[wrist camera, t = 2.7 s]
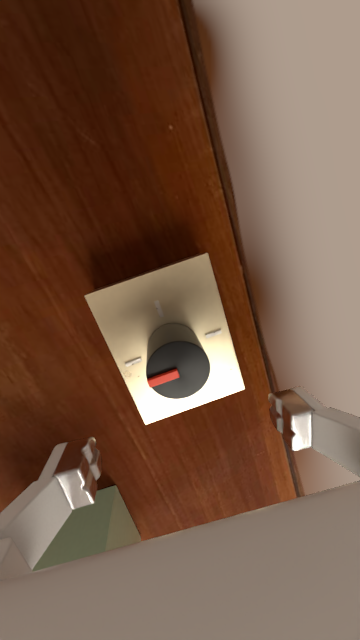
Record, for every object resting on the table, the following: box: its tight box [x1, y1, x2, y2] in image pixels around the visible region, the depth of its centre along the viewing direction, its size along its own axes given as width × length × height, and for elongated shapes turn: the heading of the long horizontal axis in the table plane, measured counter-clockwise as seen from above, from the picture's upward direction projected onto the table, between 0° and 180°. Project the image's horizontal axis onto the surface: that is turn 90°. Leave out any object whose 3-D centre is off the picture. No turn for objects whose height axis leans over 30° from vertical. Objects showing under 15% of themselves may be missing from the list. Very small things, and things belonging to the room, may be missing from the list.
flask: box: [32, 485, 141, 571], centre depth 21 cm, size 10×10×14 cm
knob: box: [146, 323, 210, 399], centre depth 17 cm, size 4×4×4 cm
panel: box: [84, 253, 245, 425], centre depth 20 cm, size 10×13×3 cm
